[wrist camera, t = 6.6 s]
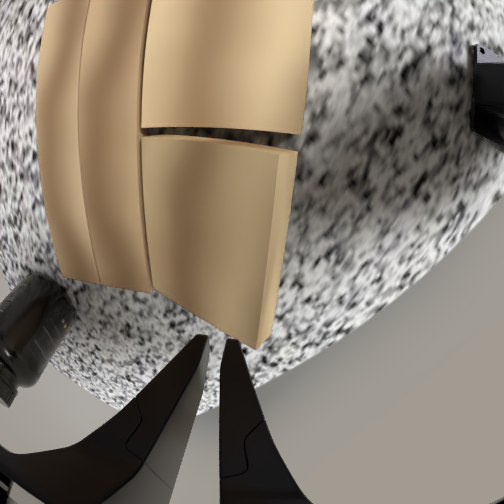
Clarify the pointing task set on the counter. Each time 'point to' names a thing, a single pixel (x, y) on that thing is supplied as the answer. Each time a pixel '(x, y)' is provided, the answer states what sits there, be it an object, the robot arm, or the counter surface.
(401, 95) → the counter surface
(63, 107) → the laid floor row
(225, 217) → the oak plank
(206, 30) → the oak plank
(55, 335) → the supplement bottle
